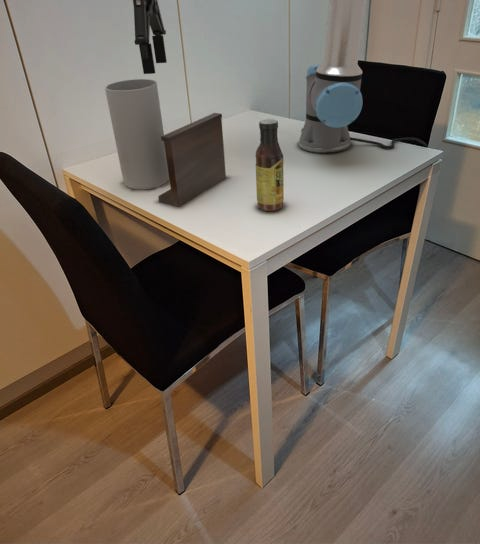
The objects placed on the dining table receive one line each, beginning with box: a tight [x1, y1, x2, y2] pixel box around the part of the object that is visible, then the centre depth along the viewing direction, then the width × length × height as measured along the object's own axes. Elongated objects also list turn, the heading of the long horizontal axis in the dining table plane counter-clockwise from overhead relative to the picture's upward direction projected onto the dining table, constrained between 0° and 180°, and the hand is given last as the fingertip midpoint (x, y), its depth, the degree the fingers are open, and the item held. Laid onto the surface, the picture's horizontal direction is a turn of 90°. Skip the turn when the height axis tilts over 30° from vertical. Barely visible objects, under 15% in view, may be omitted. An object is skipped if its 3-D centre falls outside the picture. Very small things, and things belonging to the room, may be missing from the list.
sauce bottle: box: [255, 118, 285, 212], centre depth 109 cm, size 7×6×20 cm
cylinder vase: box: [104, 78, 170, 190], centre depth 125 cm, size 12×12×25 cm
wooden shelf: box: [157, 112, 227, 208], centre depth 120 cm, size 6×21×17 cm, turn 147°
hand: (155, 68), depth 122 cm, fingers open, 13 cm apart
